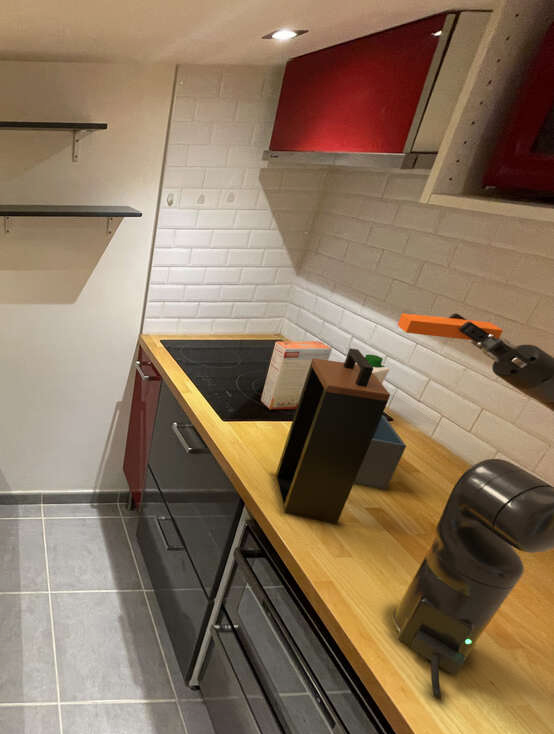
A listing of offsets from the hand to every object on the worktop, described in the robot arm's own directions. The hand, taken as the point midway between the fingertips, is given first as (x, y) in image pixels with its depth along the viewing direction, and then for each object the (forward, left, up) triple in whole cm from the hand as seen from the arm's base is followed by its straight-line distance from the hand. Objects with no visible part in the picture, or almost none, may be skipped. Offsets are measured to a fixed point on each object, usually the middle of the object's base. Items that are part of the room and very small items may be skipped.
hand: (457, 321), depth 85 cm
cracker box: (+27, +31, -44) cm, 60 cm away
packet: (-1, +1, -3) cm, 3 cm away
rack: (-14, +11, -43) cm, 47 cm away
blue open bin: (+7, +9, -43) cm, 45 cm away
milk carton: (+33, +16, -44) cm, 57 cm away
